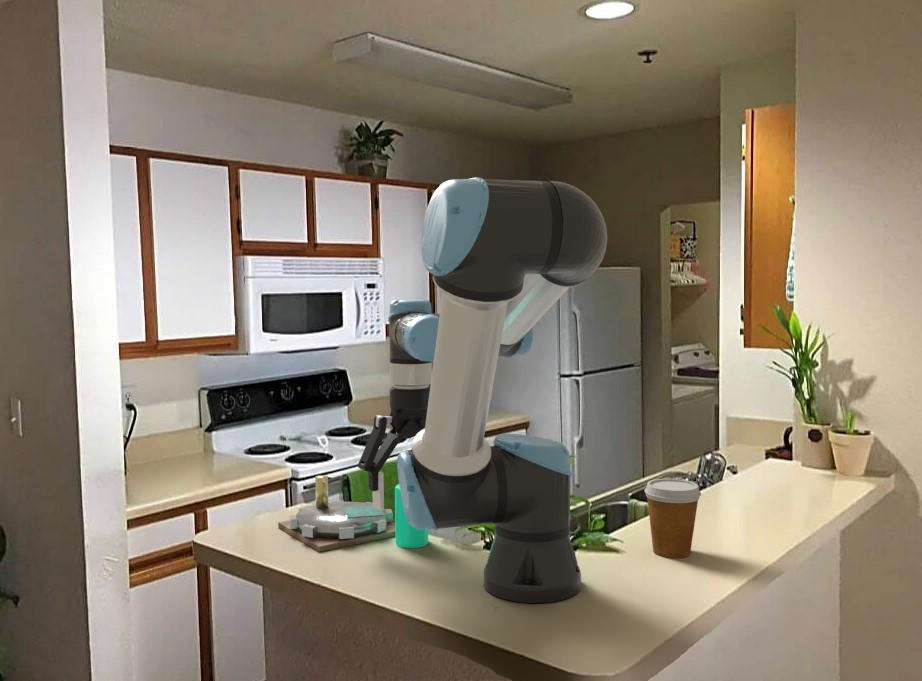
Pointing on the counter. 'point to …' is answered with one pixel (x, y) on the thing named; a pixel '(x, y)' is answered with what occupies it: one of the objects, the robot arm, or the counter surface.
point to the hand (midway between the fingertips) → (411, 502)
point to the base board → (333, 543)
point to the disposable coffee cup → (672, 515)
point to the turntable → (338, 516)
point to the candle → (407, 527)
